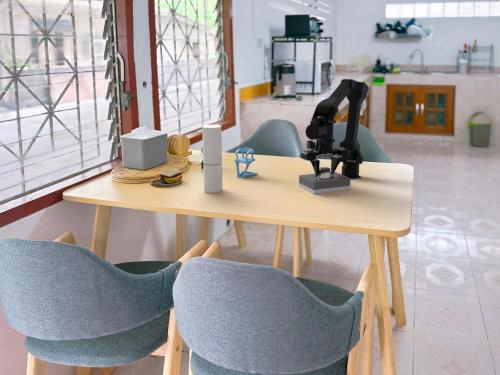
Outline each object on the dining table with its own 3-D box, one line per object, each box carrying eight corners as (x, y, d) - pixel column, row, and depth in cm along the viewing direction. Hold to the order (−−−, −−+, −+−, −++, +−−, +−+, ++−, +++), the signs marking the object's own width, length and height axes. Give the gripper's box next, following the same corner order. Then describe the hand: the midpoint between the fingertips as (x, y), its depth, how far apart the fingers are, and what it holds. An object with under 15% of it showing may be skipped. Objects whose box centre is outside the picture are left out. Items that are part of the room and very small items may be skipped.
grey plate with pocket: (333, 182, 223) (334, 171, 222) (349, 189, 212) (350, 178, 211) (298, 186, 217) (299, 175, 216) (313, 194, 206) (313, 182, 205)
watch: (200, 169, 245) (200, 145, 242) (203, 165, 253) (202, 142, 250) (213, 170, 245) (212, 145, 242) (215, 165, 253) (214, 142, 250)
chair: (232, 176, 233) (231, 149, 230) (242, 172, 240) (242, 145, 237) (247, 178, 229) (247, 150, 226) (257, 174, 236) (257, 147, 233)
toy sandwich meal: (144, 183, 224) (144, 172, 222) (172, 177, 233) (171, 167, 231) (162, 189, 215) (161, 177, 214) (189, 183, 224) (189, 172, 222)
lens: (326, 181, 217) (325, 166, 216) (333, 183, 213) (332, 168, 211) (315, 183, 216) (314, 168, 214) (321, 186, 211) (320, 171, 209)
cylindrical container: (225, 188, 214) (224, 125, 208) (218, 193, 208) (216, 128, 201) (208, 187, 217) (206, 124, 210) (201, 191, 210) (199, 127, 203)
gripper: (336, 131, 220) (334, 168, 224) (294, 134, 213) (293, 173, 217) (351, 135, 210) (349, 174, 214) (307, 139, 203) (306, 179, 207)
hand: (324, 175), depth 213 cm, fingers open, 6 cm apart
